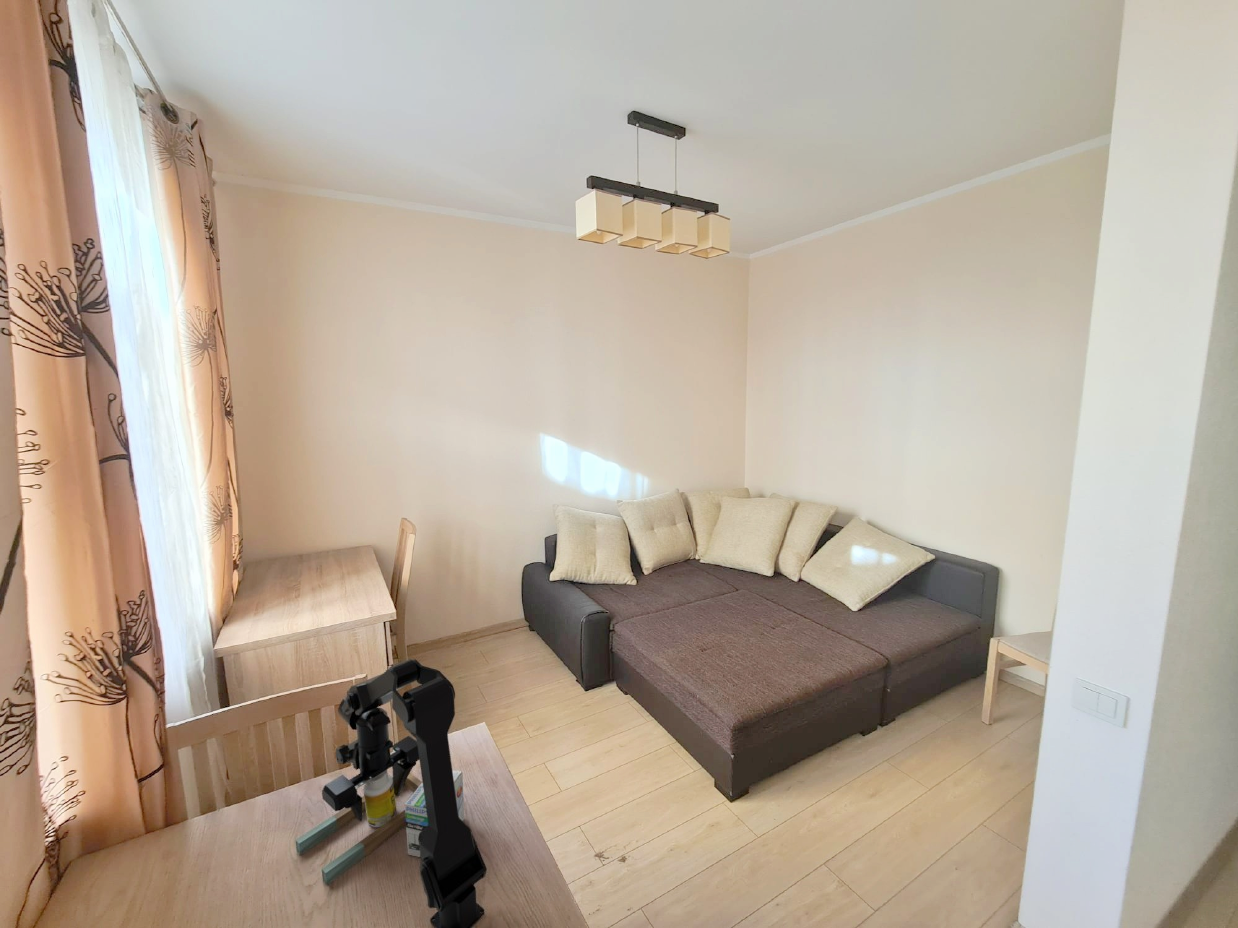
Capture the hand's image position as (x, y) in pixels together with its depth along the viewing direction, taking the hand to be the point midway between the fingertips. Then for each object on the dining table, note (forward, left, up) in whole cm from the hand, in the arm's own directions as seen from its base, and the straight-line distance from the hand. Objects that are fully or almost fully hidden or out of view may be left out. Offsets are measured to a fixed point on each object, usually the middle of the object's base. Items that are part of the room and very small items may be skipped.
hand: (378, 807), depth 107 cm
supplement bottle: (0, -1, -3) cm, 3 cm away
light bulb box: (-13, -5, -3) cm, 14 cm away
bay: (0, +2, -3) cm, 3 cm away
